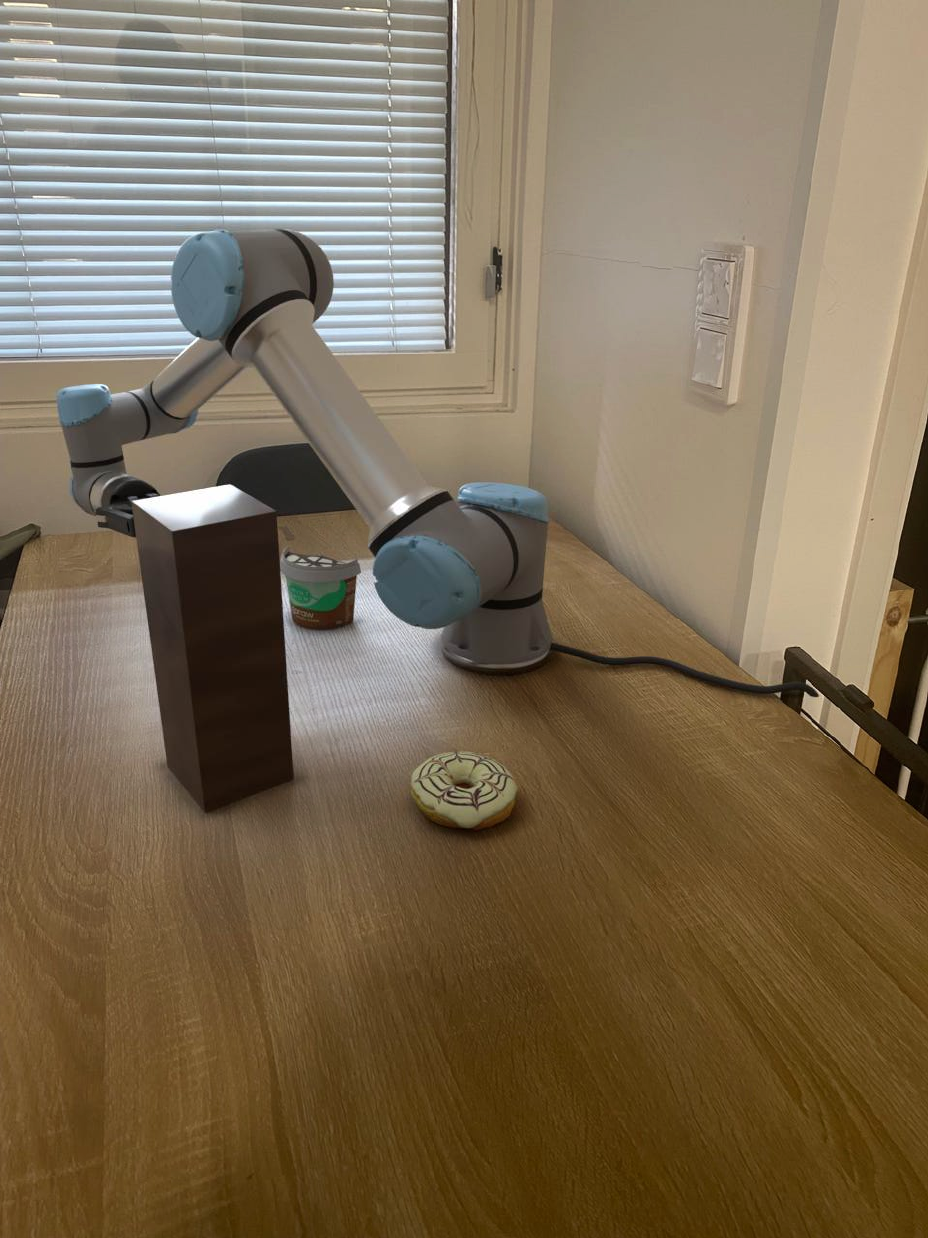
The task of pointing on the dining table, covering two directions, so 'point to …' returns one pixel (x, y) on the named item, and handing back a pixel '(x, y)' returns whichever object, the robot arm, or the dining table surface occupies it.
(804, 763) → the dining table surface
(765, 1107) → the dining table surface
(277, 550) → the stand
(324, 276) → the robot arm
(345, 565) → the food container
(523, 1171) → the dining table surface
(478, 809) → the decorated donut
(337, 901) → the dining table surface
